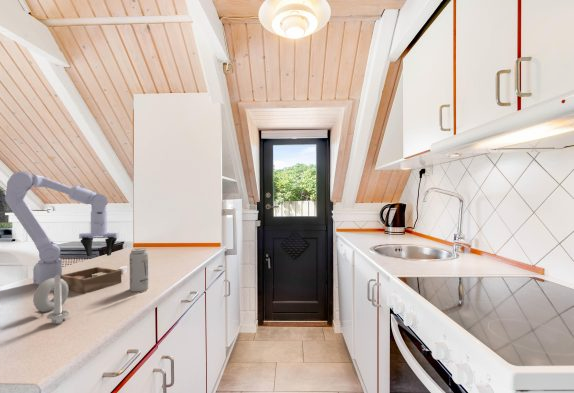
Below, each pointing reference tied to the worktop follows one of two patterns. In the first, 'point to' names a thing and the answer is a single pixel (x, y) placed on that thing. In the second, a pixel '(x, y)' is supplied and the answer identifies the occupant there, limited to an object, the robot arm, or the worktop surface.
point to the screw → (57, 303)
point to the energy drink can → (138, 270)
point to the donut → (43, 292)
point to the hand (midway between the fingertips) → (99, 255)
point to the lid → (123, 269)
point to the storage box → (91, 279)
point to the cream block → (98, 274)
